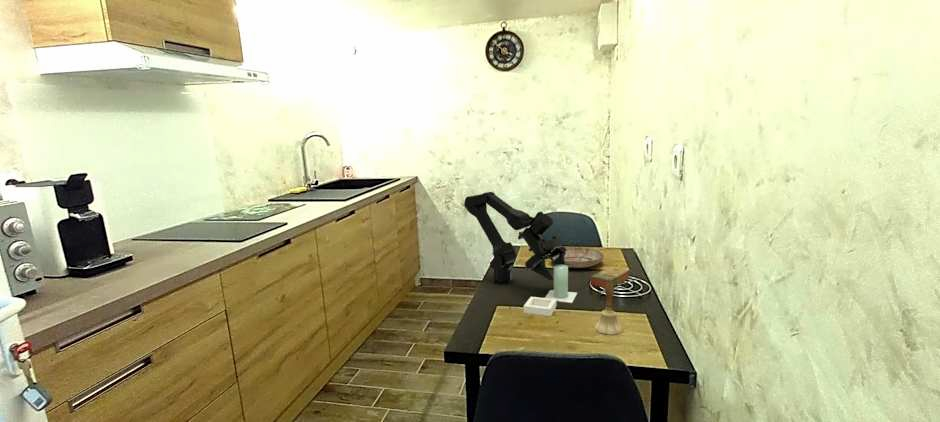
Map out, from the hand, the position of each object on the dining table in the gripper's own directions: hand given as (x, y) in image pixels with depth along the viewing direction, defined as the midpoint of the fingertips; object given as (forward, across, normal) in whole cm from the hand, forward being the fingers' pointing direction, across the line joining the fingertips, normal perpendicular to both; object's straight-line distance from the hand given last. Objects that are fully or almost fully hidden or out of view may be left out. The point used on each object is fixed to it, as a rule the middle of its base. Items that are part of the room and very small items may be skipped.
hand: (559, 276), depth 169 cm
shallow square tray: (+7, -14, +4) cm, 17 cm away
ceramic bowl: (-7, +39, +19) cm, 44 cm away
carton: (+10, +27, +2) cm, 28 cm away
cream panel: (+6, 0, +5) cm, 8 cm away
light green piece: (+5, 0, +5) cm, 7 cm away
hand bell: (+24, -12, -13) cm, 30 cm away
